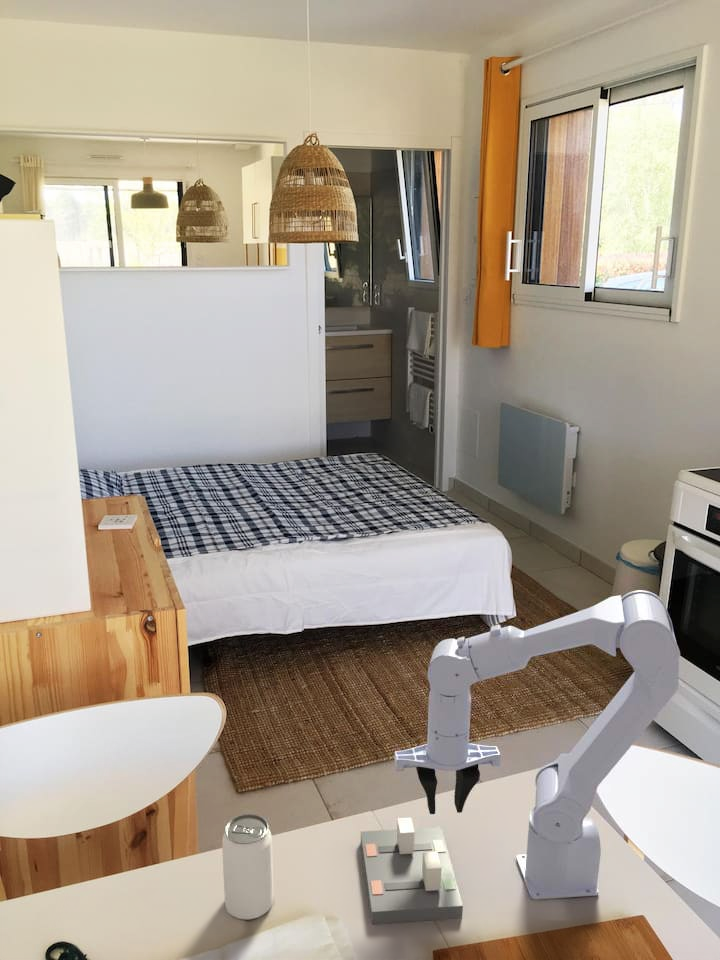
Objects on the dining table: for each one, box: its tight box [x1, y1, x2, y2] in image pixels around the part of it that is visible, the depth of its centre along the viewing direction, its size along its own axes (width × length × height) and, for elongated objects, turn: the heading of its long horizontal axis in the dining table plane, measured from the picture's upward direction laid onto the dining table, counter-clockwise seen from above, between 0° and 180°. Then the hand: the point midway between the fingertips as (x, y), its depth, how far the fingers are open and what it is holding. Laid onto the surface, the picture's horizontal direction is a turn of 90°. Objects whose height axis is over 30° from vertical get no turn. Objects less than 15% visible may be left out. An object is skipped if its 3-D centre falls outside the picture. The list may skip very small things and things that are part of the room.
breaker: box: [422, 852, 442, 891], centre depth 110 cm, size 2×3×4 cm, turn 5°
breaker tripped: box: [396, 817, 415, 854], centre depth 117 cm, size 2×3×4 cm, turn 5°
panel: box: [360, 826, 464, 925], centre depth 115 cm, size 12×15×2 cm
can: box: [221, 813, 274, 921], centre depth 109 cm, size 6×6×12 cm
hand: (444, 808), depth 116 cm, fingers open, 3 cm apart
